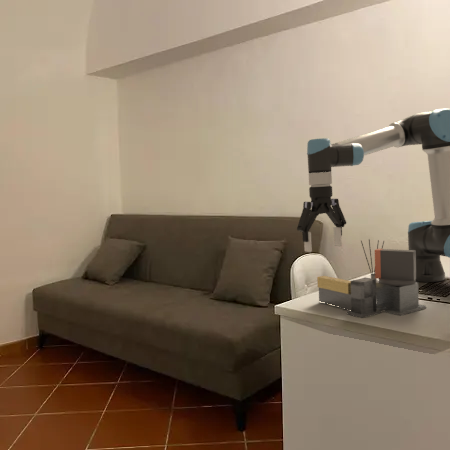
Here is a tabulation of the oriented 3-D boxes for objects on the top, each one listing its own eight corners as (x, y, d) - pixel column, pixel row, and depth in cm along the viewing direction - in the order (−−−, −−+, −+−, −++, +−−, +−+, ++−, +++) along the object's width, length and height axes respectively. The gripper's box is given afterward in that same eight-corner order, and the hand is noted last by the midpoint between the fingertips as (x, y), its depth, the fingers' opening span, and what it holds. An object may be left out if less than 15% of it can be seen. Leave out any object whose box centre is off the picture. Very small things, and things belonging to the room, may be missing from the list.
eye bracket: (330, 299, 174) (329, 270, 173) (381, 312, 155) (380, 279, 154) (311, 304, 169) (310, 273, 168) (361, 318, 151) (360, 283, 150)
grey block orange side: (419, 280, 160) (418, 248, 159) (410, 287, 151) (410, 253, 150) (381, 277, 167) (381, 246, 166) (371, 284, 158) (370, 251, 157)
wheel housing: (394, 301, 168) (393, 277, 167) (425, 308, 158) (425, 282, 157) (369, 307, 161) (369, 282, 160) (400, 315, 151) (400, 288, 150)
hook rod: (324, 285, 172) (323, 275, 171) (355, 292, 160) (354, 281, 160) (317, 287, 170) (317, 277, 170) (348, 294, 158) (348, 283, 158)
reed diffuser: (359, 295, 178) (357, 239, 176) (366, 291, 183) (364, 237, 182) (387, 298, 172) (386, 240, 170) (394, 294, 177) (393, 238, 176)
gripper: (339, 183, 176) (341, 243, 178) (284, 188, 163) (287, 252, 165) (355, 183, 170) (357, 244, 172) (299, 188, 157) (302, 255, 159)
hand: (323, 248), depth 169 cm, fingers open, 13 cm apart
